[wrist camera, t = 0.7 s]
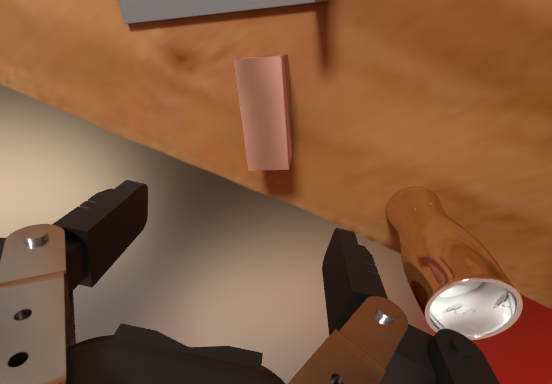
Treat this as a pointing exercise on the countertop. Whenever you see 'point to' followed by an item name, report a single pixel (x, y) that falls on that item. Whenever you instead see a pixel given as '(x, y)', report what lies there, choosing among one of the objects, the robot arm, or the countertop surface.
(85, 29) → the countertop surface
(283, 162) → the block
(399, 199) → the beer glass
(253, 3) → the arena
